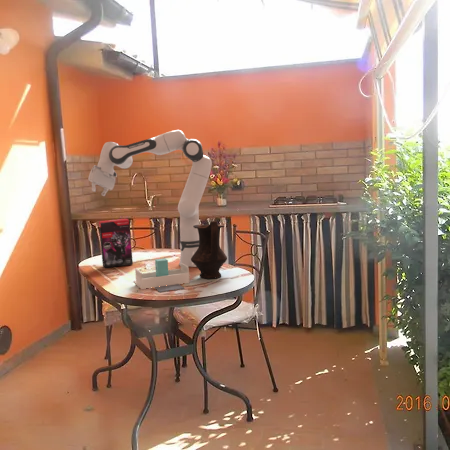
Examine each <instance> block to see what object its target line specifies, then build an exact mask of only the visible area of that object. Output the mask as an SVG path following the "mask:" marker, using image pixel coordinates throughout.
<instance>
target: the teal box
mask: <svg viewBox="0 0 450 450" xmlns="http://www.w3.org/2000/svg"><path fill="white" fill-rule="evenodd" d="M168 262H169V260H168V259H167V258H155V259H154V263H155V272H156V277H160V276H167V275H169V274H168V270H169V263H168Z"/></svg>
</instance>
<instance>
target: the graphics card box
mask: <svg viewBox="0 0 450 450" xmlns="http://www.w3.org/2000/svg"><path fill="white" fill-rule="evenodd" d="M98 228H99V239H100V240H99V241H100V249H101V251H100V252H101V260H102V267H103V268H104V269H108V268H114V267H115V268H116V267H123V266H129V265H133V264H134V263H133V262H134V261H133V251H132V250H133V249H132V239H131V229H130V220H129V219H128V218H120V219H108V220H99V221H98Z"/></svg>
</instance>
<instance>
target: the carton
mask: <svg viewBox="0 0 450 450" xmlns="http://www.w3.org/2000/svg"><path fill="white" fill-rule="evenodd" d="M179 263H180V262H179ZM180 264H181V266H180V268H175V269H174V268H173V269H168V274H169V275H167V276H160V277H156V271H150V272H144V273H142V272H141V271H140V270H139V268H137V267H135V269H134V271H135V272H134V274H135V280H133V283H134V284H135V285H137V287H138V288H140V289H141V290H146V288H149V289H152V288H151V287H159V286H166V285H174V284H179V285H184V284H183V283H185V284H190V268H189V267H190V266H186V265H184V264H183V263H180Z"/></svg>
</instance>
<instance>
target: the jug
mask: <svg viewBox="0 0 450 450" xmlns="http://www.w3.org/2000/svg"><path fill="white" fill-rule="evenodd" d="M193 227H194V228H197V229H198V233H199V241H200V242H199V243H200V244H199V248H198V249H197V251H196V252H195V253H194V255H193V256H192V258H191V261H192V262H193V263H194V264H195V265H196V266H197V267H196V268H197V269H198V271H199V272H200V273H199V277H200V278H201V279H210V280H211V279H220V278H221V277H222V274H221V272H220V270H221V268H222V267H223V265H224V264H225V263H226V262H227V260H228V257H227V255H226V253H225V251H223V249H221V247H220V229H221V228H224V227H225V225H224V224H218V221H217V220H212V221H211V222H210V223H208V224H199V225H194V226H193Z"/></svg>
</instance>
